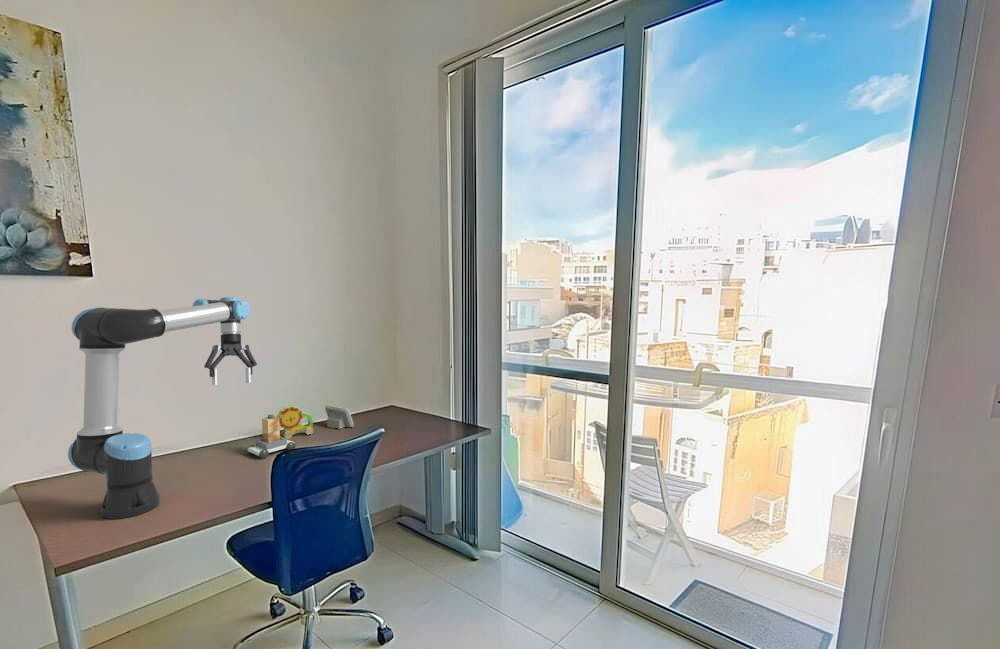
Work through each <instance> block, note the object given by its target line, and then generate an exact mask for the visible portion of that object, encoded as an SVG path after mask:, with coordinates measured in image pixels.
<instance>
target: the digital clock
mask: <svg viewBox="0 0 1000 649" xmlns="http://www.w3.org/2000/svg"><path fill="white" fill-rule="evenodd" d="M324 408H325V412H326V415H327V418H326V419H327V420H326V424H327V426H326V427H327V428H329V427H332V428H331V429H334V428H338V429H340V428H343V427H346V426H347V428H349V427H352V428H354V425H355V423H354V421H353V417H352V414H351V412H350V409H349V408H347V407H346V408H344V407H341V406H336V405H335V406H334V405H329V404H328V405H326V406H325V407H324ZM338 429H337V430H338Z"/></svg>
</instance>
